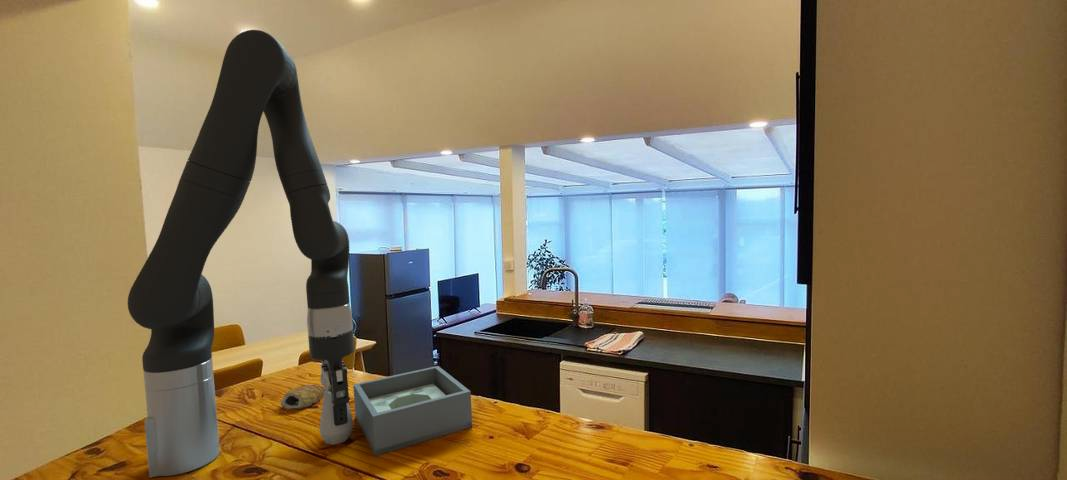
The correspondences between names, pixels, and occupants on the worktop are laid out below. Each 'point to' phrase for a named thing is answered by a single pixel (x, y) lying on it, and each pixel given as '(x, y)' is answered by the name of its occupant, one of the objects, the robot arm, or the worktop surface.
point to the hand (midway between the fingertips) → (337, 415)
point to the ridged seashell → (302, 396)
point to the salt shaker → (327, 425)
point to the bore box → (411, 408)
